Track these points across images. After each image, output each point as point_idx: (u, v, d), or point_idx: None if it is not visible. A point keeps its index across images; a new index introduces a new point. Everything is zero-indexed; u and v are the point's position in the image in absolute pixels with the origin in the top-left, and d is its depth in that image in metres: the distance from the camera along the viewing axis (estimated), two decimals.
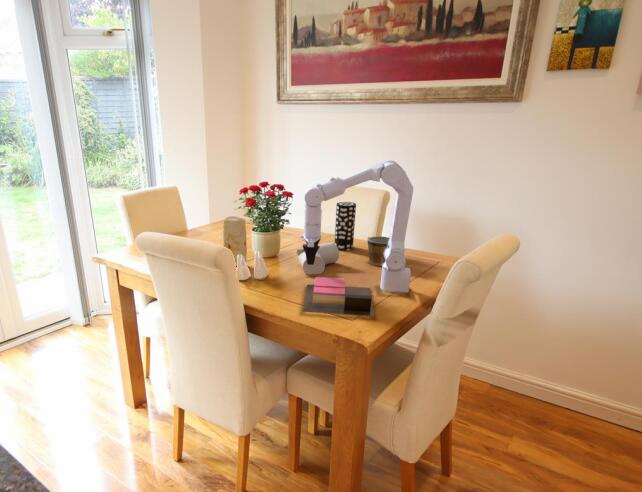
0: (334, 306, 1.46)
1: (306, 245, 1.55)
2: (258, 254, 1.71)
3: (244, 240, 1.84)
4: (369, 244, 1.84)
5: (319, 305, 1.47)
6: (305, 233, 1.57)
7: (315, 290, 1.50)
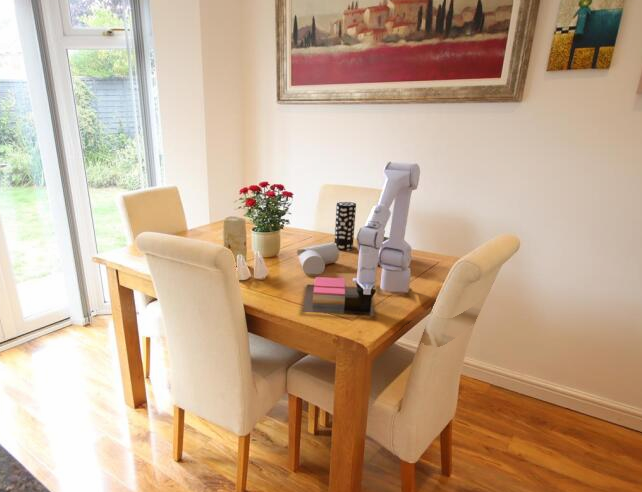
0: (334, 306, 1.46)
1: (361, 289, 1.40)
2: (258, 254, 1.71)
3: (244, 240, 1.84)
4: None
5: (319, 305, 1.47)
6: (359, 277, 1.39)
7: (315, 290, 1.50)
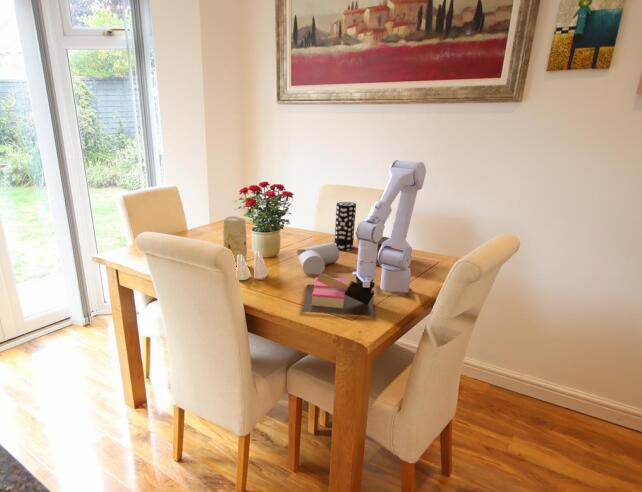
0: (337, 288, 1.49)
1: (360, 282, 1.44)
2: (258, 254, 1.71)
3: (244, 240, 1.84)
4: None
5: (323, 281, 1.49)
6: (359, 271, 1.44)
7: (314, 292, 1.49)
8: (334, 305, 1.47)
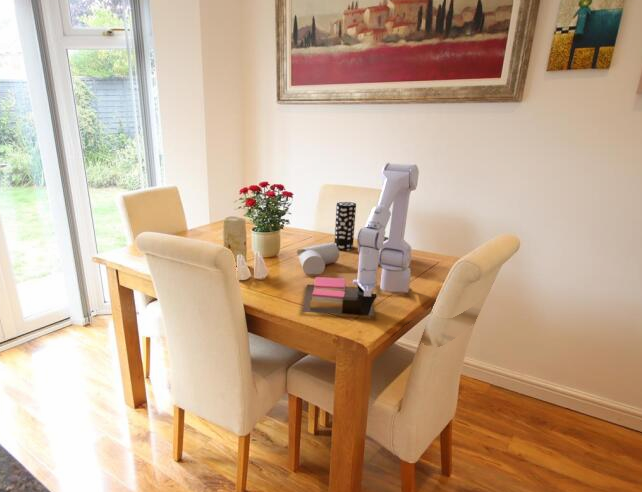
0: (332, 309, 1.45)
1: (361, 293, 1.36)
2: (258, 254, 1.71)
3: (244, 240, 1.84)
4: None
5: (316, 308, 1.46)
6: (359, 279, 1.37)
7: (314, 292, 1.49)
8: None
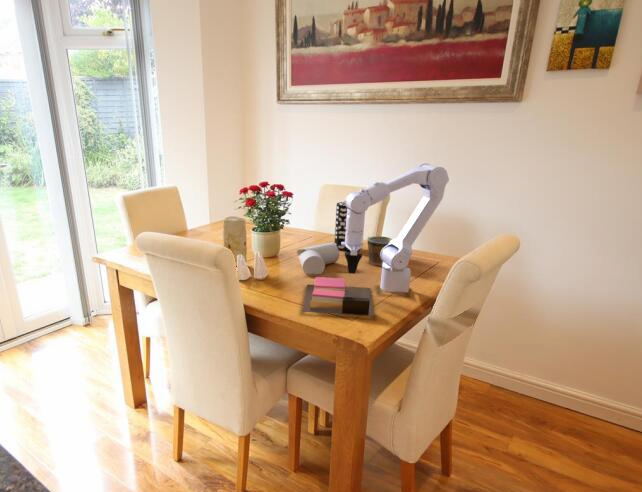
0: (332, 309, 1.45)
1: (348, 253, 1.49)
2: (258, 254, 1.71)
3: (244, 240, 1.84)
4: (369, 244, 1.84)
5: (316, 308, 1.46)
6: (347, 240, 1.50)
7: (314, 292, 1.49)
8: None
